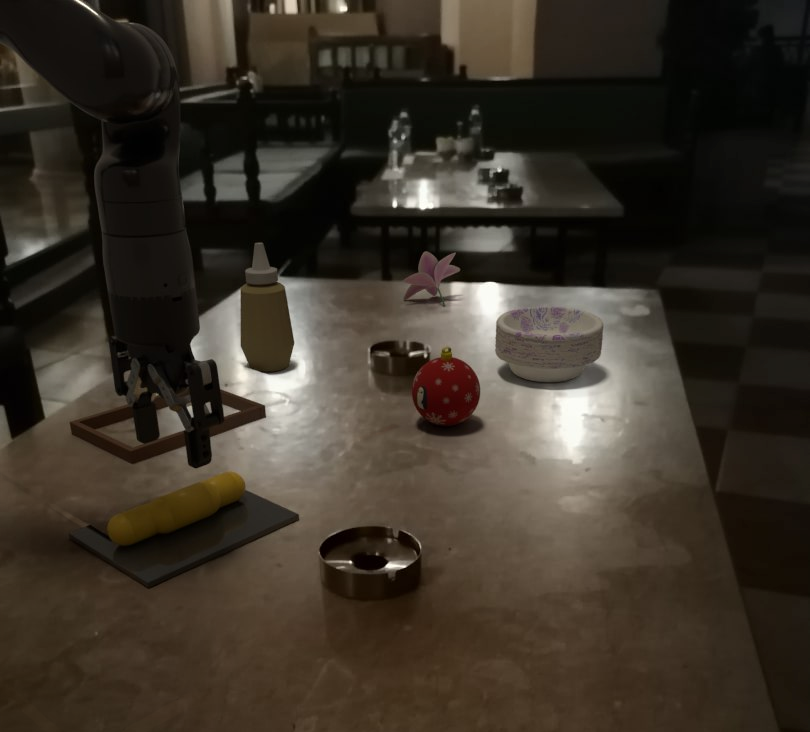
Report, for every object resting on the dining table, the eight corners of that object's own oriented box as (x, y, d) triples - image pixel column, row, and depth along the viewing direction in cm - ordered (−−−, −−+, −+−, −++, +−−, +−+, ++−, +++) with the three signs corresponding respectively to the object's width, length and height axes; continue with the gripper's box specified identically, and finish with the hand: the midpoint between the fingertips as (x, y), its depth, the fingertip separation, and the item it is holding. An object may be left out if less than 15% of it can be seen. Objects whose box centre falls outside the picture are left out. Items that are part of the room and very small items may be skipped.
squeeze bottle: (299, 358, 140) (291, 237, 131) (292, 375, 133) (283, 249, 124) (247, 358, 140) (236, 238, 132) (237, 375, 133) (224, 249, 125)
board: (148, 588, 81) (147, 582, 81) (69, 538, 90) (68, 533, 90) (299, 519, 93) (299, 514, 93) (216, 480, 101) (216, 475, 101)
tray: (133, 471, 104) (130, 451, 103) (72, 440, 112) (69, 421, 111) (266, 423, 116) (265, 405, 115) (203, 399, 124) (201, 382, 123)
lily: (470, 301, 173) (452, 253, 172) (475, 291, 162) (457, 239, 161) (411, 323, 174) (393, 275, 173) (412, 315, 162) (393, 263, 161)
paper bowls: (518, 395, 125) (521, 338, 121) (479, 362, 137) (480, 310, 133) (618, 383, 128) (624, 328, 124) (570, 353, 141) (575, 302, 137)
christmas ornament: (493, 425, 115) (496, 348, 110) (440, 442, 110) (441, 362, 106) (449, 406, 121) (451, 333, 116) (398, 421, 116) (397, 345, 112)
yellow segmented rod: (128, 554, 84) (116, 518, 83) (108, 551, 87) (96, 516, 86) (260, 498, 94) (251, 465, 93) (238, 498, 97) (229, 465, 96)
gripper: (70, 277, 81) (100, 444, 89) (161, 305, 73) (185, 487, 81) (142, 264, 86) (164, 423, 94) (235, 288, 78) (251, 461, 86)
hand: (174, 452), depth 87 cm, fingers open, 8 cm apart
